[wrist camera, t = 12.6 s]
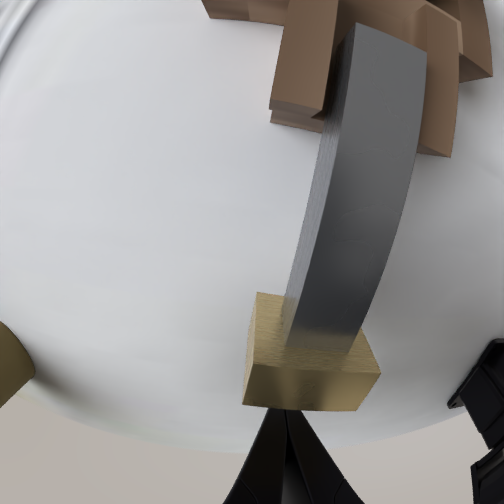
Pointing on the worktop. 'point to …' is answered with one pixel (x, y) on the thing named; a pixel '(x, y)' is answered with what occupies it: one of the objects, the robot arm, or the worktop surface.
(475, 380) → the robot arm
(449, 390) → the worktop surface
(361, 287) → the lock bolt
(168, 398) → the worktop surface
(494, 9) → the worktop surface
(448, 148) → the dock
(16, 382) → the cork
